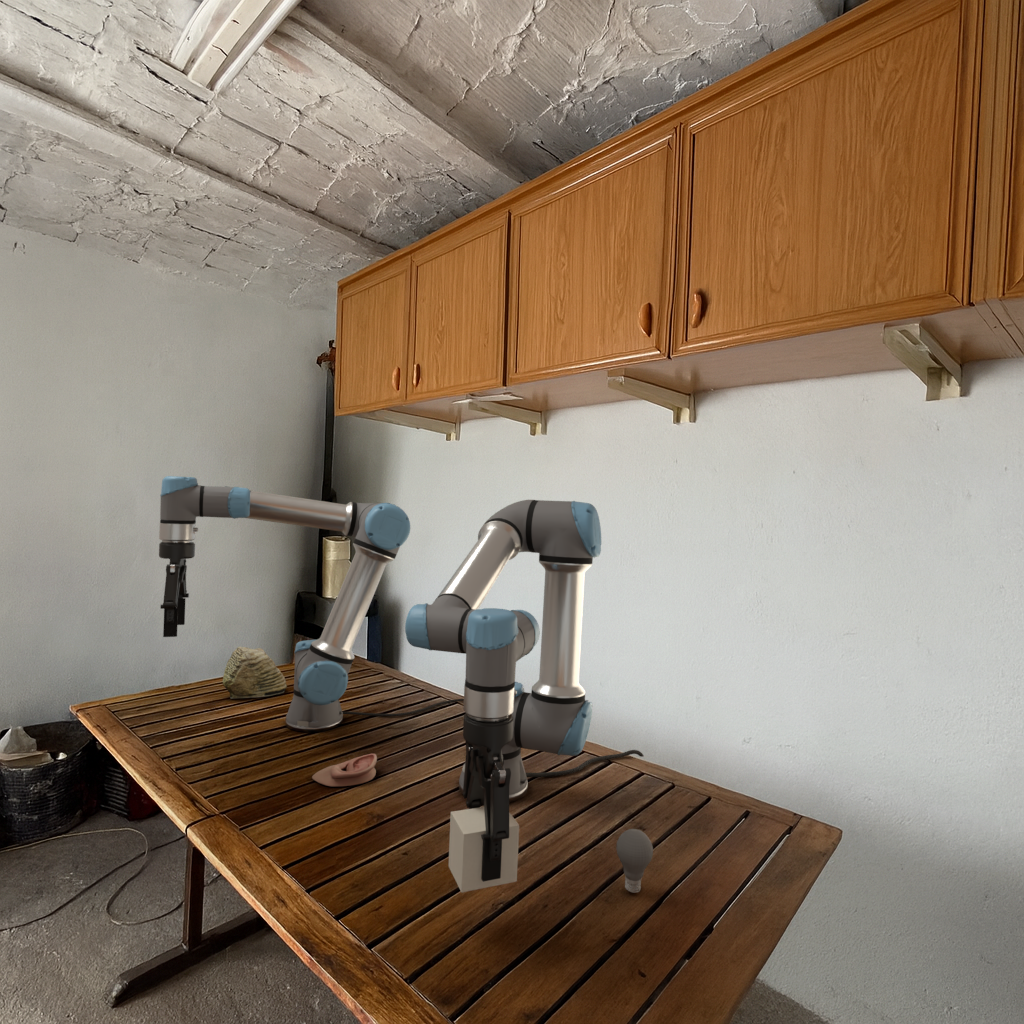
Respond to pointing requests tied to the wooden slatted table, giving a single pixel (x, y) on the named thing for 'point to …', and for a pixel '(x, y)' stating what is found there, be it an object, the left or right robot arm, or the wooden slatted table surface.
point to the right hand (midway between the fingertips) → (482, 863)
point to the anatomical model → (348, 772)
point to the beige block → (478, 850)
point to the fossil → (252, 674)
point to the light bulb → (634, 857)
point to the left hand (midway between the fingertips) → (174, 630)
